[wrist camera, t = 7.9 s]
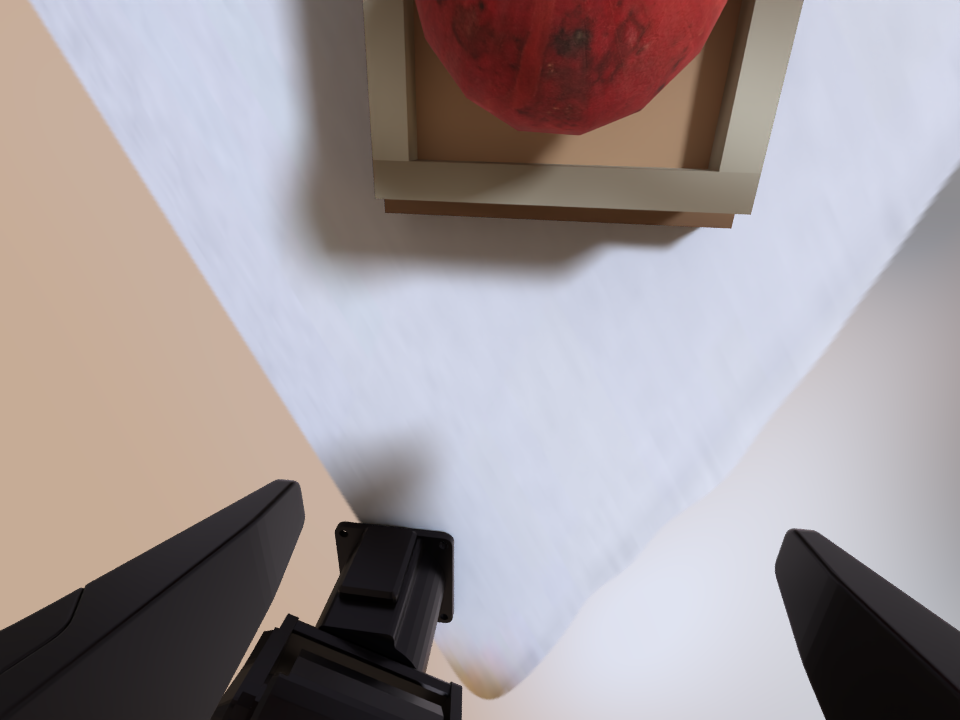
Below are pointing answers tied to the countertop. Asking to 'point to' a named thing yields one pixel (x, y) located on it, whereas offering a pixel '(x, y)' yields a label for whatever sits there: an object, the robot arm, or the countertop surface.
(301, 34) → the countertop surface
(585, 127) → the onion
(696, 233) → the countertop surface
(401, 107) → the wooden tray on base
